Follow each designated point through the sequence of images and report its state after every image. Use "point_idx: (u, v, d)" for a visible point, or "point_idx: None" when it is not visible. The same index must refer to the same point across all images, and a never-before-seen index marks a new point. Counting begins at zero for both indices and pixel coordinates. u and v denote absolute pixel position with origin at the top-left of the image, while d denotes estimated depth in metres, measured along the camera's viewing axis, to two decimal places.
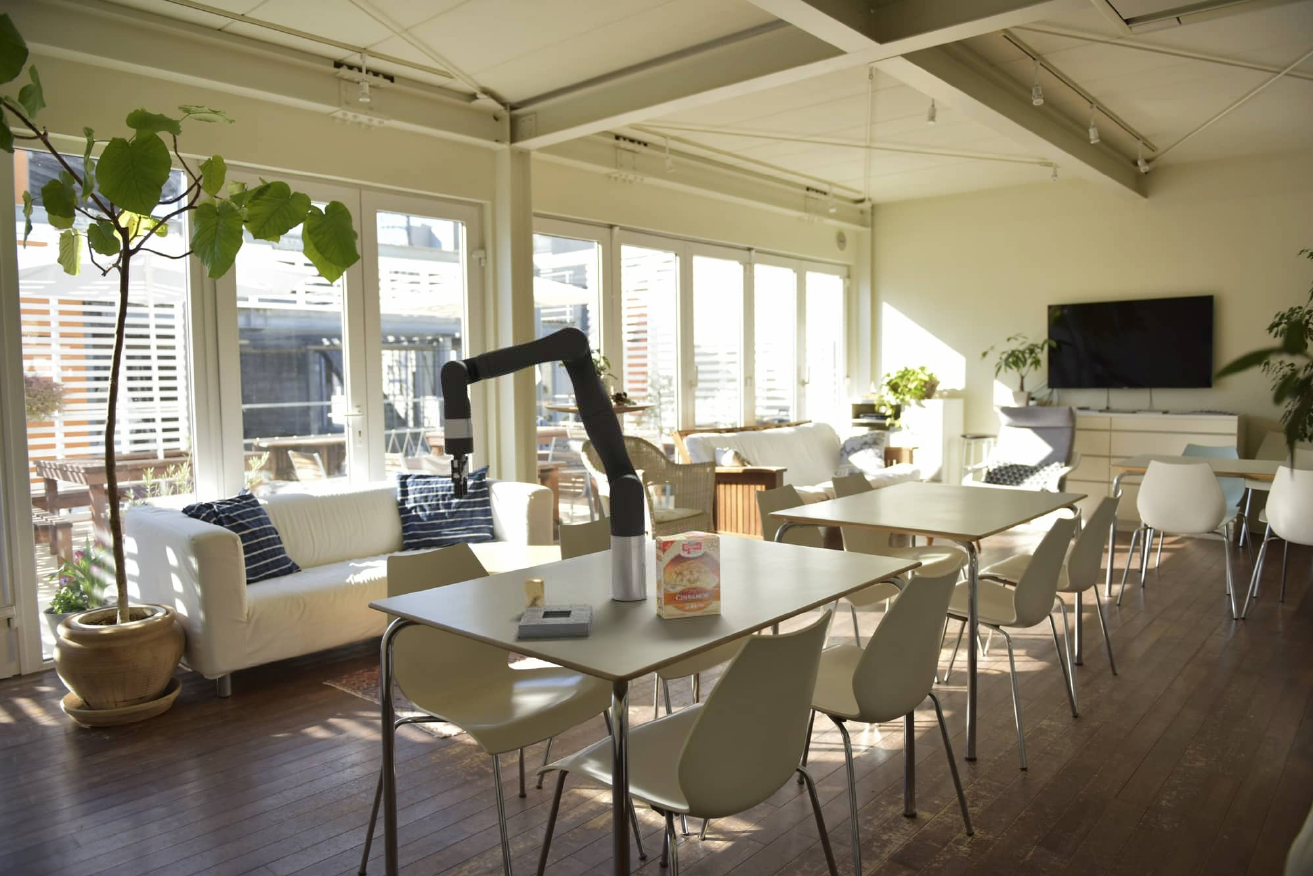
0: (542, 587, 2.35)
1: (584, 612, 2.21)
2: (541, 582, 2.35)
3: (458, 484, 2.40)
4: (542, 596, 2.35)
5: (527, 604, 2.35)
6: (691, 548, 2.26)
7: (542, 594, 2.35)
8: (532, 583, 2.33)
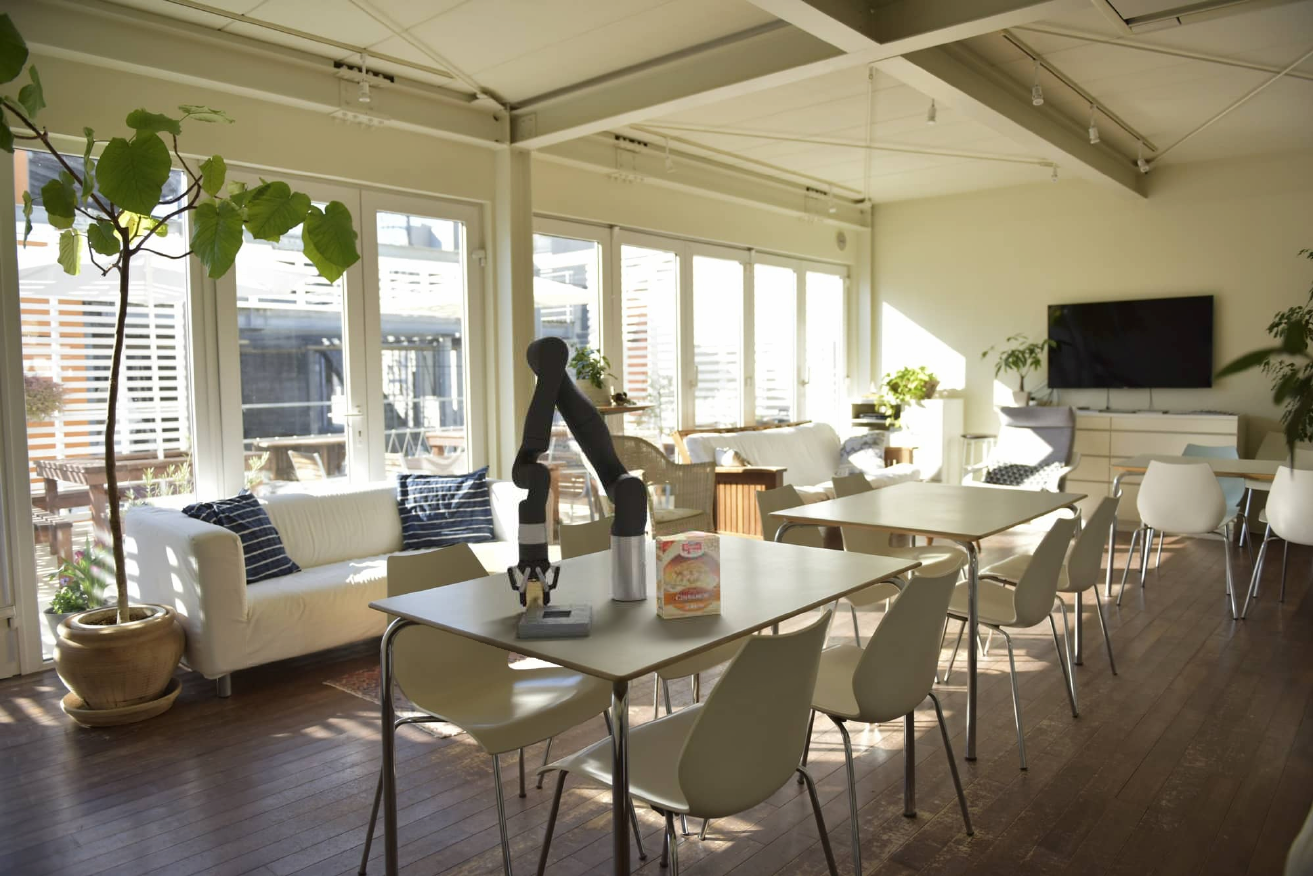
0: (542, 587, 2.35)
1: (584, 612, 2.21)
2: None
3: None
4: (542, 596, 2.35)
5: (527, 604, 2.35)
6: (691, 548, 2.26)
7: (542, 594, 2.35)
8: (532, 583, 2.33)
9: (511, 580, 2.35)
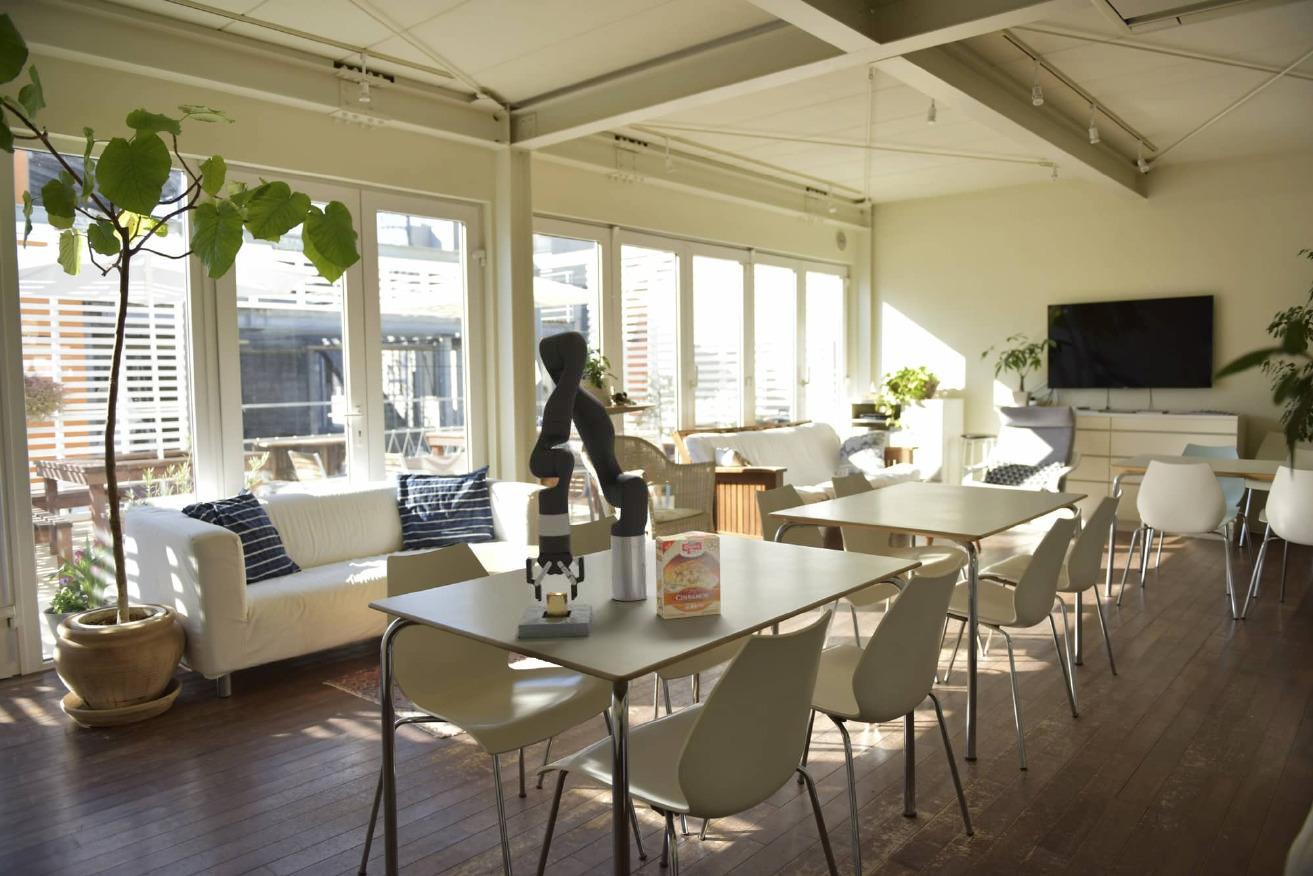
0: (565, 601, 2.19)
1: (584, 612, 2.21)
2: (564, 596, 2.19)
3: None
4: (565, 611, 2.19)
5: None
6: (691, 548, 2.26)
7: (565, 609, 2.19)
8: (555, 597, 2.18)
9: (528, 572, 2.18)
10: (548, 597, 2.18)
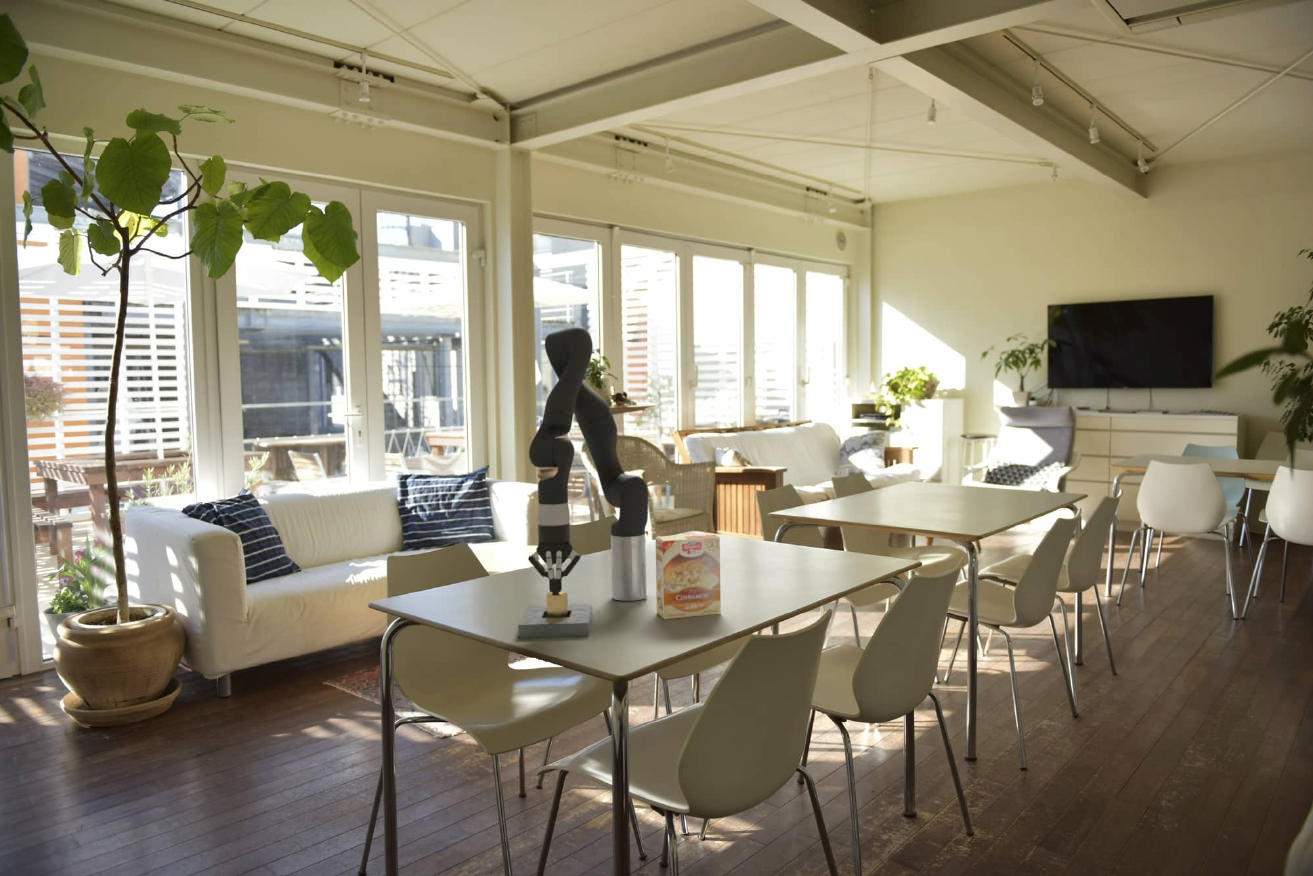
0: (565, 601, 2.19)
1: (584, 612, 2.21)
2: (564, 596, 2.19)
3: None
4: (565, 611, 2.19)
5: None
6: (691, 548, 2.26)
7: (565, 609, 2.19)
8: (555, 597, 2.18)
9: (537, 568, 2.19)
10: (548, 597, 2.18)
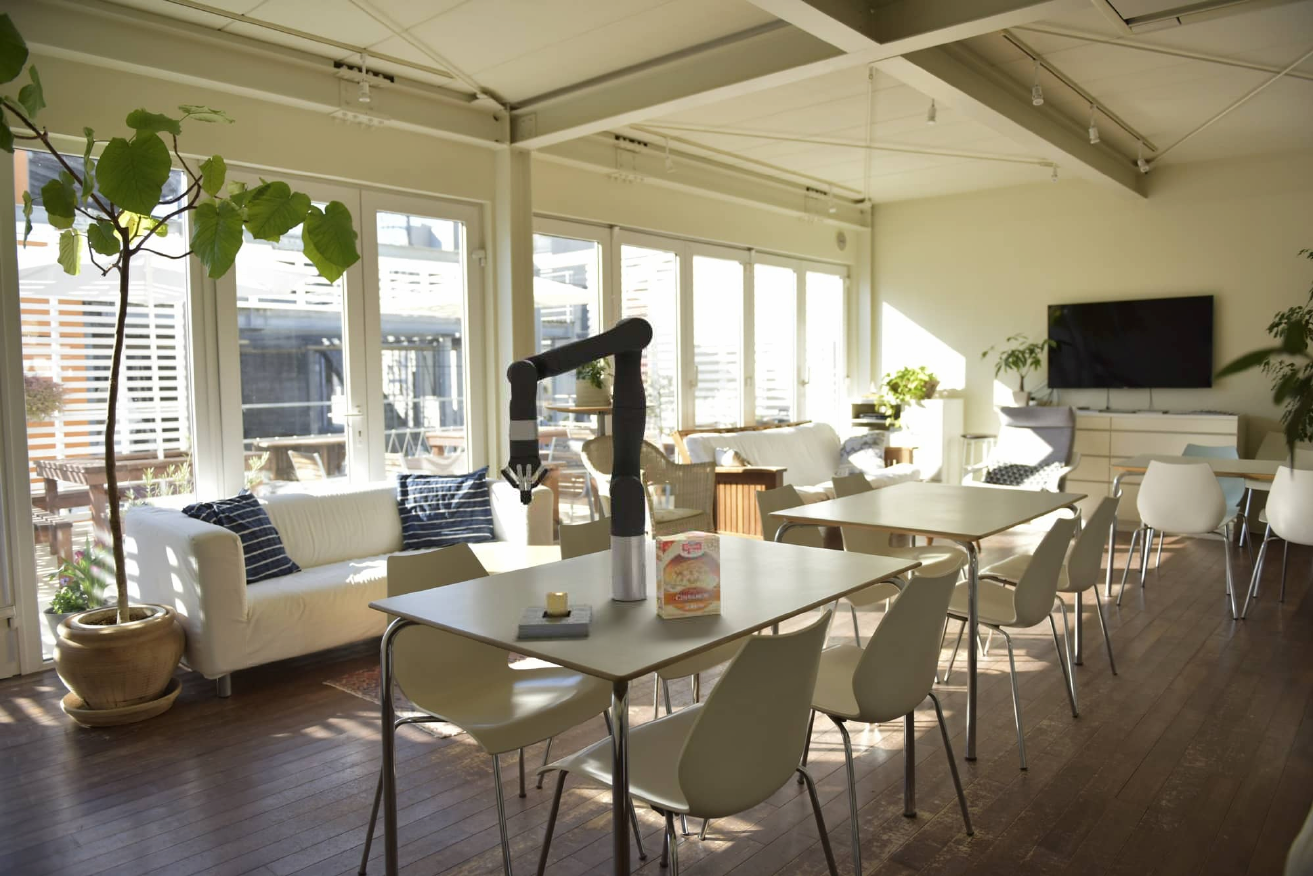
0: (565, 601, 2.19)
1: (584, 612, 2.21)
2: (564, 596, 2.19)
3: None
4: (565, 611, 2.19)
5: None
6: (691, 548, 2.26)
7: (565, 608, 2.19)
8: (555, 597, 2.18)
9: (509, 480, 2.37)
10: (548, 597, 2.18)
